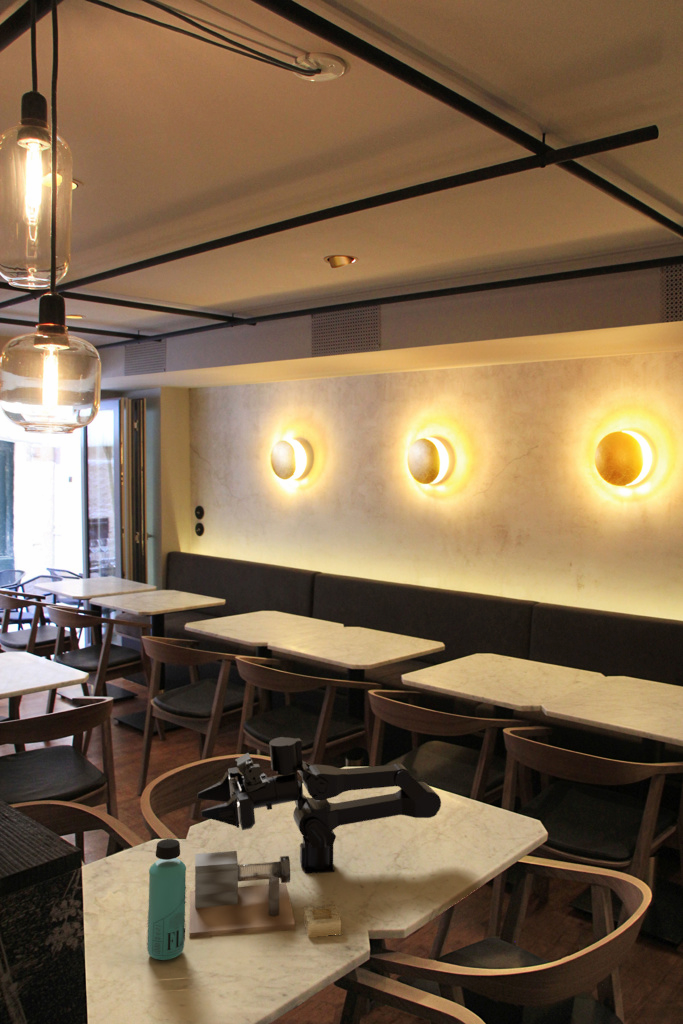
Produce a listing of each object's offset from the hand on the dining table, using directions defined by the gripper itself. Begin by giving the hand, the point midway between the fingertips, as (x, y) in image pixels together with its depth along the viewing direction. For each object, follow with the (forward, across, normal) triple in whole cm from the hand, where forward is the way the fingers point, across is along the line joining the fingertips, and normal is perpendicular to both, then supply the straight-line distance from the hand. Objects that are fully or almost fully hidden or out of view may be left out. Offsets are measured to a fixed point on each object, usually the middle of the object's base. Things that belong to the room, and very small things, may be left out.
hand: (199, 804), depth 164 cm
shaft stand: (-5, +16, +16) cm, 23 cm away
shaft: (-8, +13, +12) cm, 19 cm away
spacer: (-19, +25, +17) cm, 35 cm away
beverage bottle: (+10, +28, +14) cm, 32 cm away
